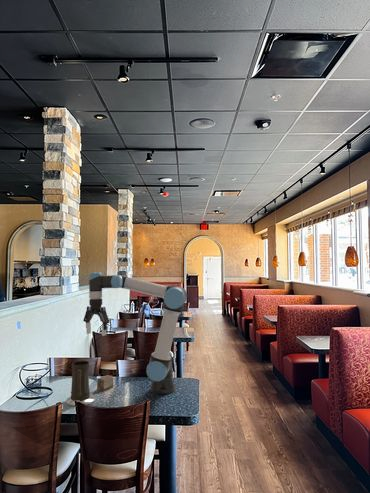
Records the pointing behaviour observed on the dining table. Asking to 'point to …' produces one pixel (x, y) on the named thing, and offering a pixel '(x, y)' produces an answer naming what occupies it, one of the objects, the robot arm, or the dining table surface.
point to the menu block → (105, 383)
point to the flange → (87, 401)
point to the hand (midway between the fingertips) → (96, 334)
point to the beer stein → (80, 381)
